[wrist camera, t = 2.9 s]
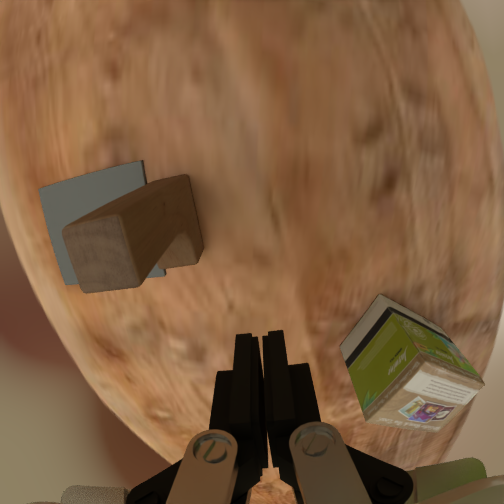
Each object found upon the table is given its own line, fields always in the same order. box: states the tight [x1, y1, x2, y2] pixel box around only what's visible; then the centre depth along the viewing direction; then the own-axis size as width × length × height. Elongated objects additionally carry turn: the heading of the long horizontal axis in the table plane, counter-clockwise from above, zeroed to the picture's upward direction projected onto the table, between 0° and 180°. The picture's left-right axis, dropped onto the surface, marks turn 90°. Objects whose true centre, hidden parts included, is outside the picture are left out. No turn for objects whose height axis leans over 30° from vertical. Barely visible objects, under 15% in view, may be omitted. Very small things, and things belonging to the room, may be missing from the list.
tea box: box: [340, 294, 485, 433], centre depth 32 cm, size 15×10×15 cm
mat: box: [38, 160, 166, 285], centre depth 33 cm, size 16×14×1 cm
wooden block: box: [62, 174, 204, 293], centre depth 24 cm, size 9×4×18 cm, turn 9°
